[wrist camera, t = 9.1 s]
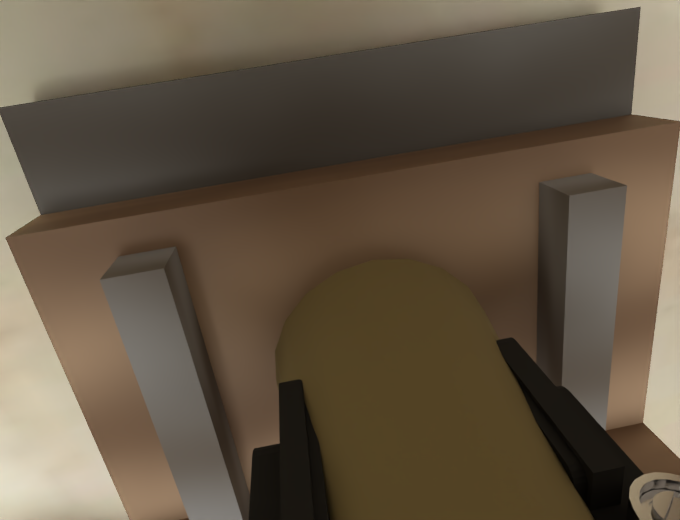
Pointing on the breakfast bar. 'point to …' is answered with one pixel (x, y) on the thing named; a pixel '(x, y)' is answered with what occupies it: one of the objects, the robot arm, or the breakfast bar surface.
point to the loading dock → (340, 232)
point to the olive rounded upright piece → (417, 402)
